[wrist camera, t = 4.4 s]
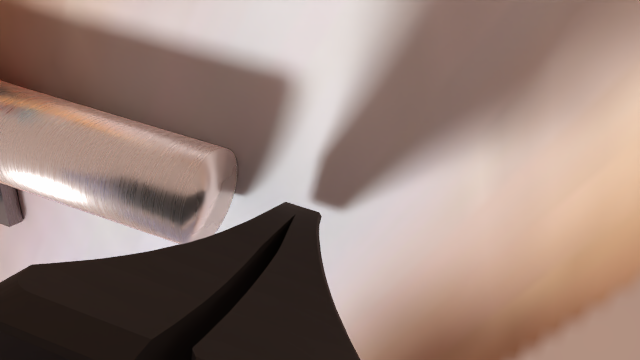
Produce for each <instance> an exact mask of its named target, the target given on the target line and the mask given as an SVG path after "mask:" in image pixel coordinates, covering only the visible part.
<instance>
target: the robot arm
mask: <svg viewBox="0 0 640 360" xmlns="http://www.w3.org/2000/svg"><path fill="white" fill-rule="evenodd" d="M320 220H321V215H320V213H319V212H316V211H313V210H309V209H306V208H303V207H300V206H297V205H294V204H290V203H287V202H285V203H283V204H281V205H279V206H277V207H275V208H273V209H271V210H269V211H267V212H265V213H263V214H261V215H259V216H257V217H255V218H253V219H251V220H249V221H247V222H244V223H242V224H240V225H237V226H235V227H232V228H230V229H228V230H225V231H223V232H220V233H217V234H214V235H211V236H208V237H205V238H202V239H198V240H195V241H192V242H188V243H184V244H180V245H175V246H171V247H167V248H162V249H158V250H154V251H149V252H143V253H137V254H131V255H125V256H118V257H111V258H103V259H95V260H84V261H73V262H61V263H50V264H35V265H31V266H29V267H27V268H25V269H23V270H22V271H20V272H18V273H16V274H15V275H13V276H11V277H9V278H7V279H6V280H4V281H2V282H0V360H360V358H359V356H358V354H357V352H356V350H355V349H354V347H353V345H352V343H351V341H350V339H349V337H348V335H347V332H346V330H345V328H344V326H343V323H342V321H341V319H340V317H339V314H338V312H337V310H336V307H335V305H334V302H333V299H332V296H331V293H330V290H329V287H328V283H327V280H326V276H325V272H324V268H323V263H322V258H321V251H320V242H319V224H320Z"/></svg>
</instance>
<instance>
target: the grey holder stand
mask: <svg viewBox="0 0 640 360" xmlns="http://www.w3.org/2000/svg"><path fill="white" fill-rule="evenodd" d="M22 221H23V219H22V214H21V210H20V205H19V200H18V195H17V191H16V188H14V187H11V186H8V185H5V184H2V183H0V224H3V225H6V226H8V227H10V226H12V225H15V224H17V223H19V222H22Z"/></svg>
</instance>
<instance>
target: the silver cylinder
mask: <svg viewBox="0 0 640 360" xmlns="http://www.w3.org/2000/svg"><path fill="white" fill-rule="evenodd" d="M237 171H238V170H237V161H236V157H235V155H234V153H233V152H232V151H231V150H229V149H227V148H224V147H220V146H217V145H214V144H210V143H207V142H204V141H200V140H197V139H194V138H190V137H187V136H184V135H180V134H177V133H174V132H170V131H167V130H164V129H160V128H157V127H154V126H150V125H147V124H144V123H140V122H137V121H134V120H130V119H127V118H124V117H120V116H117V115H113V114H110V113H107V112H103V111H100V110H97V109H93V108H90V107H87V106H83V105H80V104H77V103H73V102H70V101H67V100H63V99H60V98H57V97H53V96H50V95H47V94H43V93H40V92H37V91H33V90H30V89H27V88H23V87H20V86H17V85H13V84H10V83H7V82H4V81H1V80H0V183H2V184H5V185H8V186H11V187H14V188H17V189H20V190H23V191H26V192H29V193H32V194H35V195H37V196H40V197H43V198H46V199H49V200H52V201H55V202H58V203H61V204H64V205H67V206H70V207H73V208H76V209H79V210H82V211H84V212H87V213H90V214H93V215H96V216H99V217H102V218H105V219H108V220H111V221H114V222H117V223H120V224H123V225H126V226H129V227H132V228H134V229H137V230H140V231H143V232H146V233H149V234H152V235H155V236H158V237H161V238H164V239H167V240H170V241H173V242H176V243H179V244H184V243H188V242H192V241H195V240H198V239H202V238H205V237H208V236H211V235H214V234H215V232H216V231H217V230H218V228H219V227H220V225H221V223H222V222H223V220H224V218H225V216H226V214H227V212H228V209H229V207H230V204H231V202H232V199H233V195H234V192H235V188H236V182H237Z"/></svg>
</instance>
